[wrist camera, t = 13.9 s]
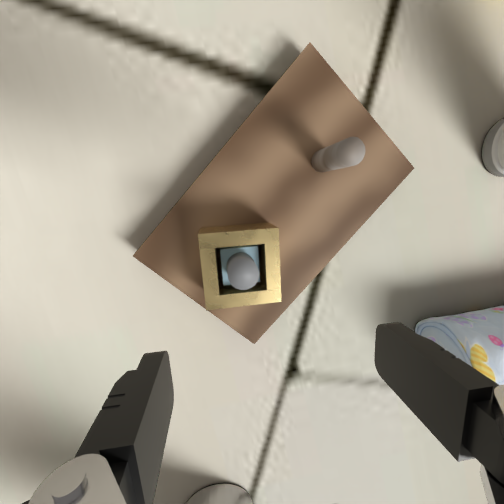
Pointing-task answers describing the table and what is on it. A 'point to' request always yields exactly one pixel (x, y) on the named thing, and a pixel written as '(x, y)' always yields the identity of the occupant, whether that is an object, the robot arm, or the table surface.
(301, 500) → the table surface
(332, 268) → the table surface
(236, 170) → the workboard
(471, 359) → the pencil case
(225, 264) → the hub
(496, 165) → the travel mug
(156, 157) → the table surface
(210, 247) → the collar
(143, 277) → the table surface
